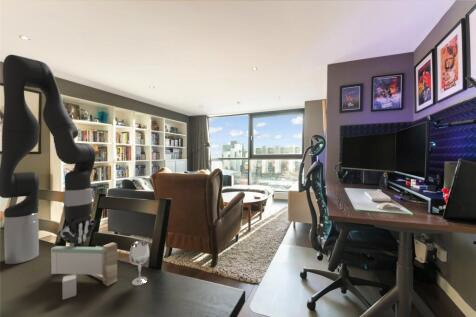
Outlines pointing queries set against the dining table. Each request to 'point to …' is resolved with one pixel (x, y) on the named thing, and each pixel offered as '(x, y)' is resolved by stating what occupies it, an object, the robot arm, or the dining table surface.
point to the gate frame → (108, 264)
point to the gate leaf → (77, 260)
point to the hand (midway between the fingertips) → (79, 252)
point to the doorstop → (69, 286)
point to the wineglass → (139, 258)
